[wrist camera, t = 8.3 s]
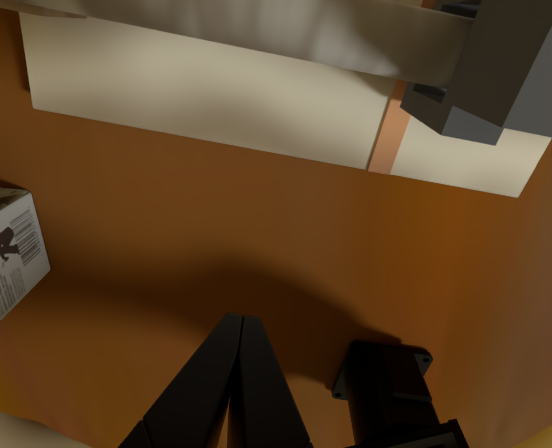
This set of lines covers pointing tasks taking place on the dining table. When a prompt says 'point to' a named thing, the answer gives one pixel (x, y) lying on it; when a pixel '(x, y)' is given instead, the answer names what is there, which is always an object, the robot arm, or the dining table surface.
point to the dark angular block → (493, 74)
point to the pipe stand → (270, 79)
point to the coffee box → (19, 248)
